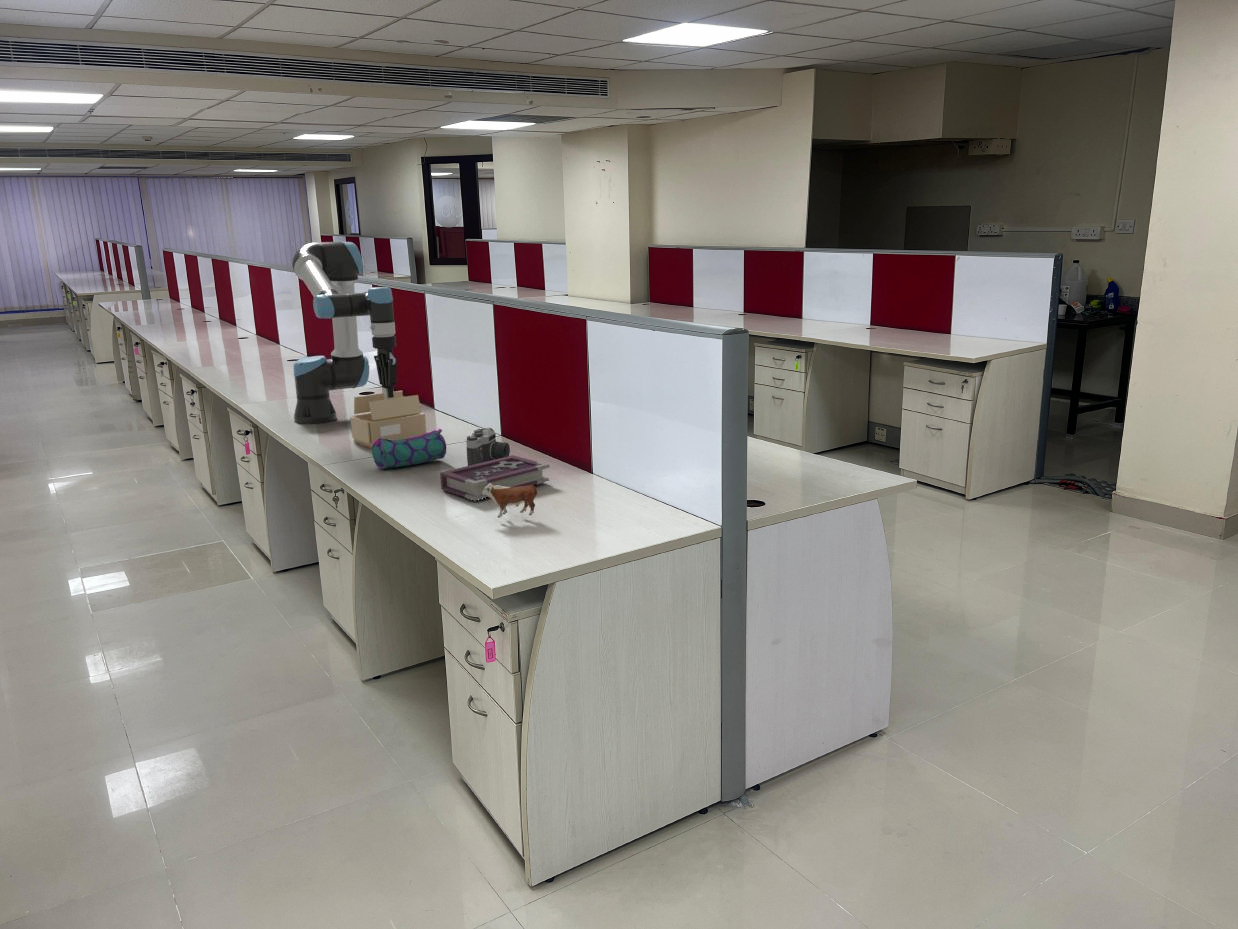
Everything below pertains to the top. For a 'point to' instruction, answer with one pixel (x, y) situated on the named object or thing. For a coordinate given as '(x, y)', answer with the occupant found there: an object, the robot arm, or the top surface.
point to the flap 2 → (395, 407)
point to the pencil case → (409, 450)
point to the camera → (485, 447)
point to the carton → (386, 428)
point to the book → (492, 476)
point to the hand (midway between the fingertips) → (390, 406)
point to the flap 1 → (363, 401)
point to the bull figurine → (511, 496)
